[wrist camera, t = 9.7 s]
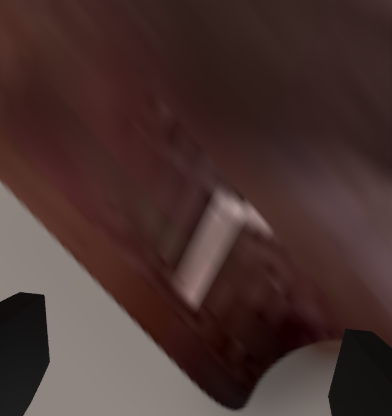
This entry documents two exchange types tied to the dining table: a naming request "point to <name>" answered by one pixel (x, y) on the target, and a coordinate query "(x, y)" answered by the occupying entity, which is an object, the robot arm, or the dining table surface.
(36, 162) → the dining table surface
